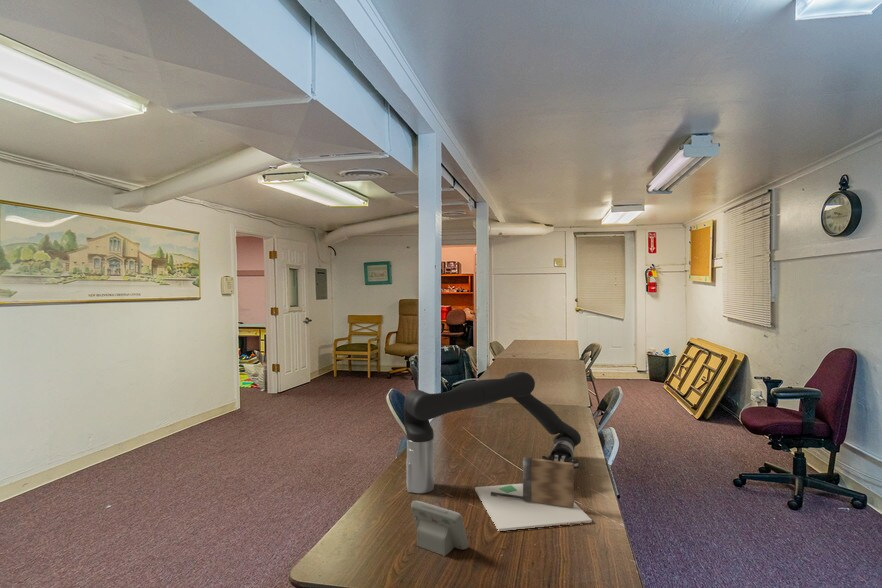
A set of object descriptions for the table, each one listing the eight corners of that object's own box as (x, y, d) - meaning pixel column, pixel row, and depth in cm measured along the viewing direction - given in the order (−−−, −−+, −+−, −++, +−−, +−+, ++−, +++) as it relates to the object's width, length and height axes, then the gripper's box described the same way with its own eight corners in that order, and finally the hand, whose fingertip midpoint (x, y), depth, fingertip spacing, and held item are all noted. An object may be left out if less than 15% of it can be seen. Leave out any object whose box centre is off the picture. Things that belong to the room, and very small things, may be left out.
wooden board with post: (489, 495, 152) (489, 455, 151) (492, 491, 154) (491, 452, 154) (573, 508, 143) (572, 465, 142) (573, 504, 145) (573, 462, 145)
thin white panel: (498, 532, 132) (498, 528, 132) (475, 490, 159) (475, 486, 159) (591, 523, 136) (591, 519, 136) (553, 483, 164) (553, 480, 164)
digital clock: (472, 549, 123) (471, 509, 123) (448, 564, 117) (447, 521, 117) (429, 527, 135) (428, 490, 134) (405, 540, 128) (405, 501, 128)
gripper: (544, 441, 174) (536, 457, 157) (581, 445, 169) (577, 462, 153) (544, 461, 174) (536, 479, 157) (581, 466, 169) (577, 485, 153)
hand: (556, 471), depth 155 cm, fingers closed
